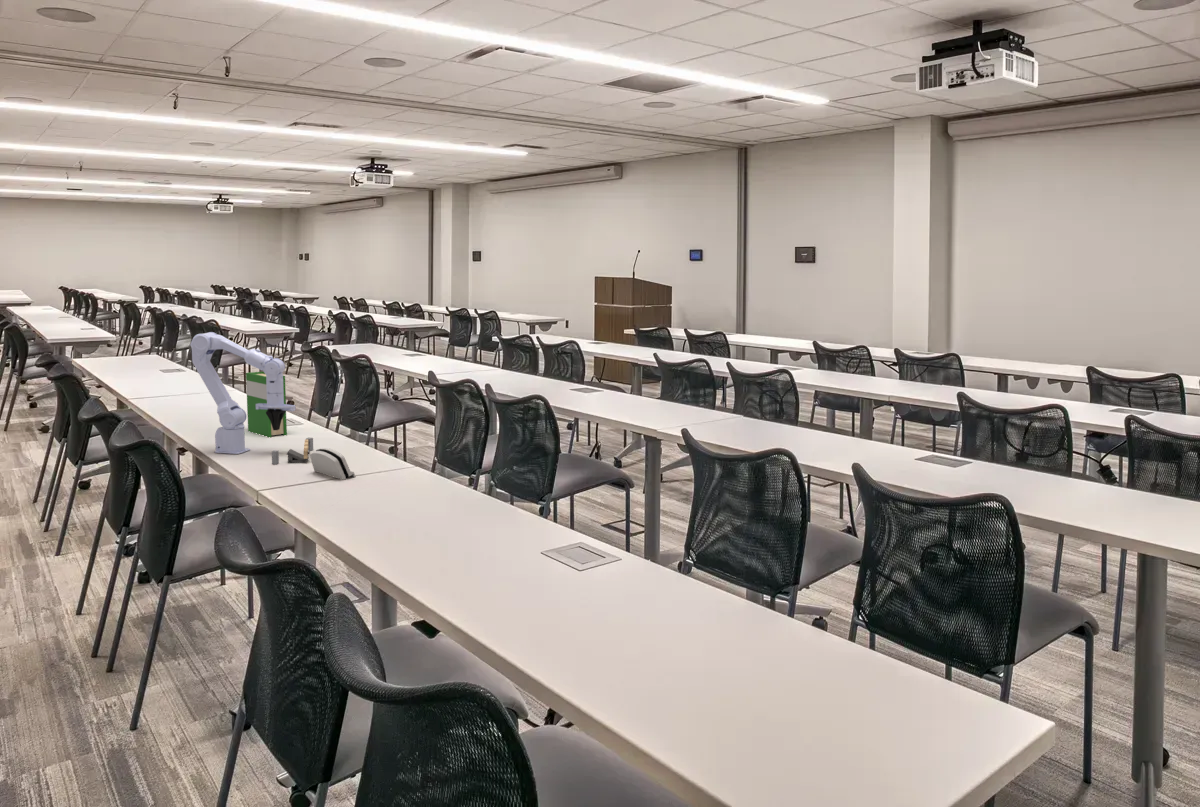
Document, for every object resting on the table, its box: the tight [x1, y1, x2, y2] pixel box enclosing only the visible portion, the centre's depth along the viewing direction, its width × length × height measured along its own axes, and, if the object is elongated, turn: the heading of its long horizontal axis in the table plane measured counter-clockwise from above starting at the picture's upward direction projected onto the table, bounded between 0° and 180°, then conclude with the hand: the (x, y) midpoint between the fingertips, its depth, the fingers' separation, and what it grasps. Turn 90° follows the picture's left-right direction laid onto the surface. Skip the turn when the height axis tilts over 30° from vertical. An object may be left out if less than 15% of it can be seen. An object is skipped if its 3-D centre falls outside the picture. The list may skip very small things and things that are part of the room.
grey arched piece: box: [309, 447, 357, 480], centre depth 280 cm, size 17×5×10 cm, turn 50°
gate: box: [303, 438, 311, 459], centre depth 305 cm, size 21×2×3 cm, turn 18°
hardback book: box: [245, 371, 288, 438], centre depth 344 cm, size 18×7×24 cm, turn 48°
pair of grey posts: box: [271, 437, 314, 465], centre depth 305 cm, size 2×25×4 cm, turn 170°
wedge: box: [286, 448, 310, 464], centre depth 298 cm, size 6×5×4 cm
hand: (276, 429), depth 310 cm, fingers closed
